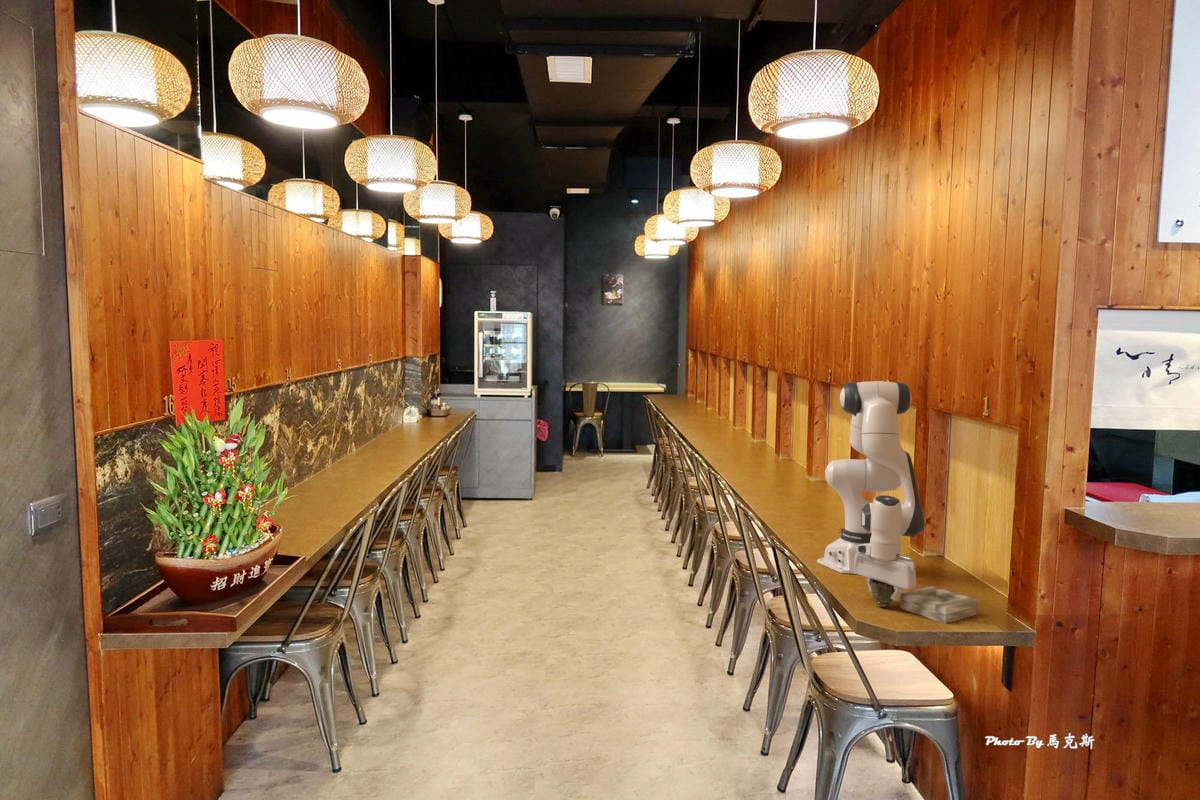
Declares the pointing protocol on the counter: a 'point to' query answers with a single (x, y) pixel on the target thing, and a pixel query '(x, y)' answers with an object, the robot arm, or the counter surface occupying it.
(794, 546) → the counter surface
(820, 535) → the counter surface
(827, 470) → the robot arm
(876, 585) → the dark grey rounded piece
